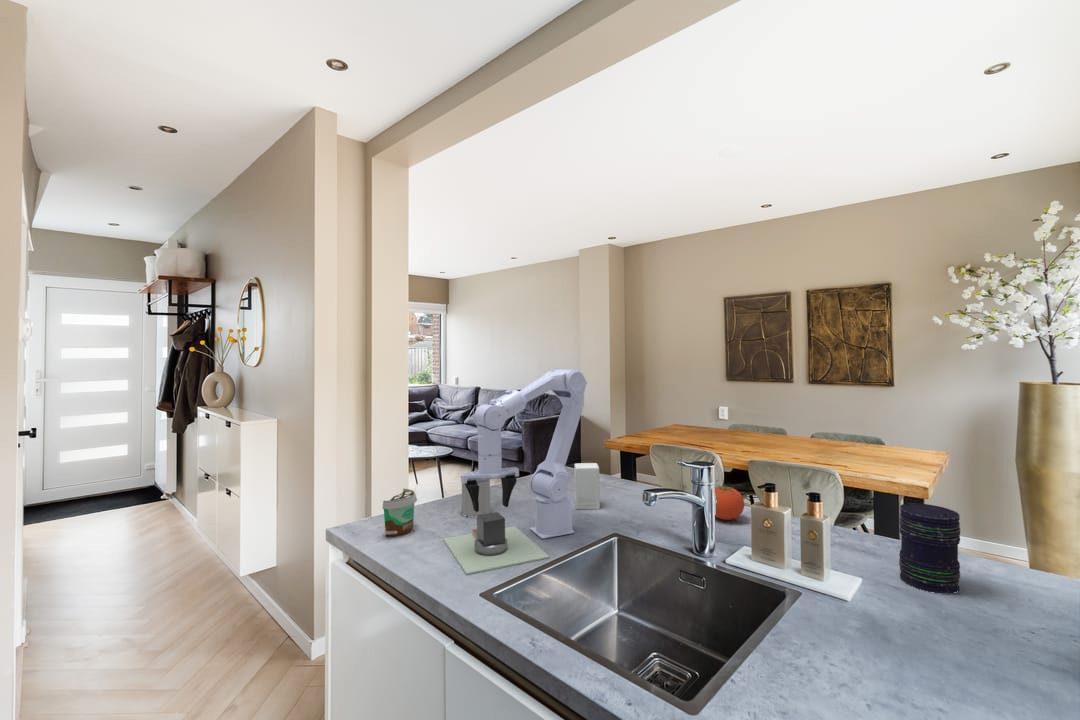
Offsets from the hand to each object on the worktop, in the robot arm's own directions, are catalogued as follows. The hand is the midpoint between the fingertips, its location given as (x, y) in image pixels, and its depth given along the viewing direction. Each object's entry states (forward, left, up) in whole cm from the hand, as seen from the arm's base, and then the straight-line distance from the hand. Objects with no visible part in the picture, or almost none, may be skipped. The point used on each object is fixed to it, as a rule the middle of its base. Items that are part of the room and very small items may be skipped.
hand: (491, 508), depth 124 cm
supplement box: (-37, -18, -10) cm, 43 cm away
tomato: (-66, +10, -10) cm, 68 cm away
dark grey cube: (+1, +2, -8) cm, 8 cm away
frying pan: (+1, -2, -9) cm, 10 cm away
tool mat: (0, +1, -10) cm, 10 cm away
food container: (+18, -21, -10) cm, 30 cm away
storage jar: (-75, +57, -10) cm, 95 cm away
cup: (-4, -27, -10) cm, 30 cm away
